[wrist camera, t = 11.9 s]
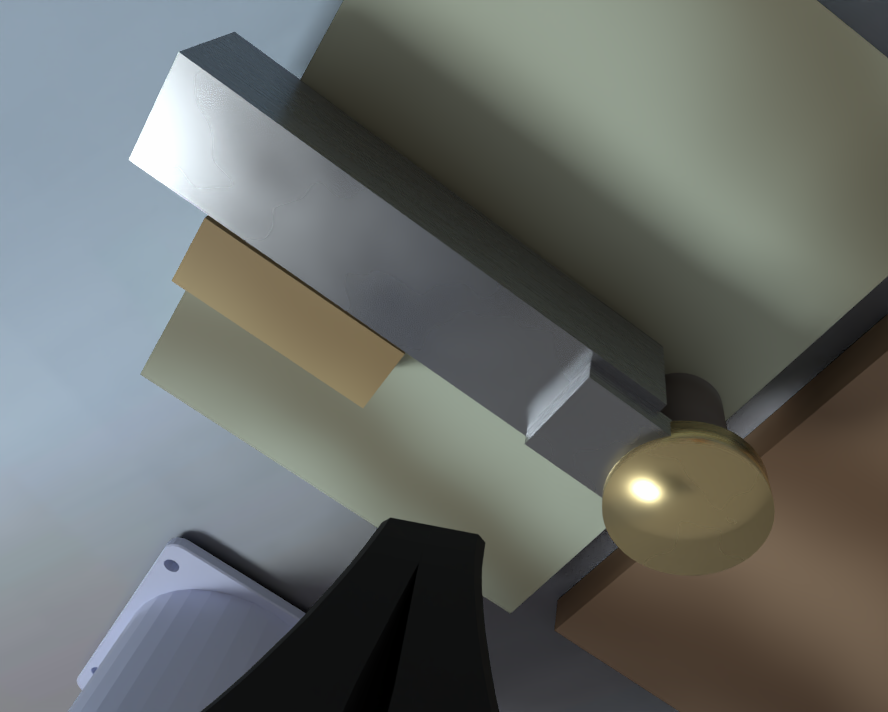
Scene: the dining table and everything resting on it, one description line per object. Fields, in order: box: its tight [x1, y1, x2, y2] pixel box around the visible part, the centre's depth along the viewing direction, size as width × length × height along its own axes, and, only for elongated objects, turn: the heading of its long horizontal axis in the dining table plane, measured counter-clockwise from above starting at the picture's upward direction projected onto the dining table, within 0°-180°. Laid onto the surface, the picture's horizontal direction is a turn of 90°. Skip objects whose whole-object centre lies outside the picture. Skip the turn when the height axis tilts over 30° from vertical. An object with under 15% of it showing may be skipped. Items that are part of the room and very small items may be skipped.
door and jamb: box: [140, 0, 888, 712], centre depth 19 cm, size 16×28×4 cm, turn 57°
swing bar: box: [129, 32, 775, 576], centre depth 17 cm, size 14×3×3 cm, turn 56°
